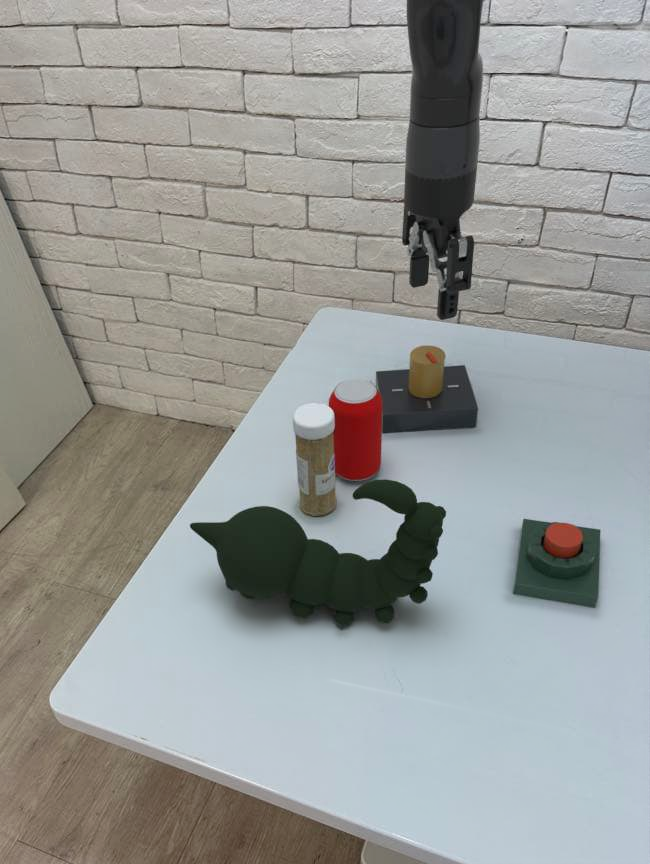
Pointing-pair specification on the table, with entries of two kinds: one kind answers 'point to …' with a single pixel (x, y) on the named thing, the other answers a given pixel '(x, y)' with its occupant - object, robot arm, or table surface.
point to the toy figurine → (328, 557)
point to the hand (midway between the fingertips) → (432, 300)
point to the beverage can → (357, 429)
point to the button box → (557, 567)
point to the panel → (426, 402)
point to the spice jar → (315, 458)
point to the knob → (426, 371)
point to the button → (563, 540)
